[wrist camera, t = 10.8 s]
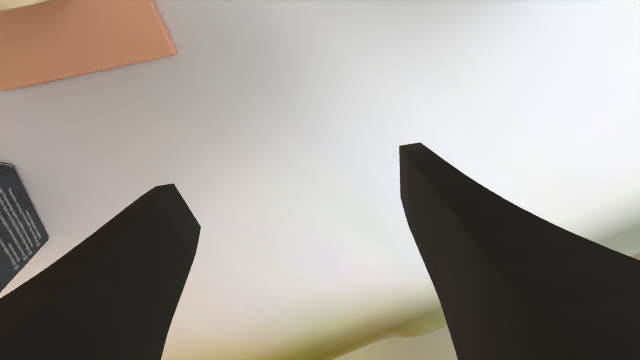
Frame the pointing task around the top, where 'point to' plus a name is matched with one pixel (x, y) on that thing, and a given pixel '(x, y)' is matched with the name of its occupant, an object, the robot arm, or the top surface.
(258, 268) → the top surface
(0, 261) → the box
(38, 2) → the label block
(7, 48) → the mat
